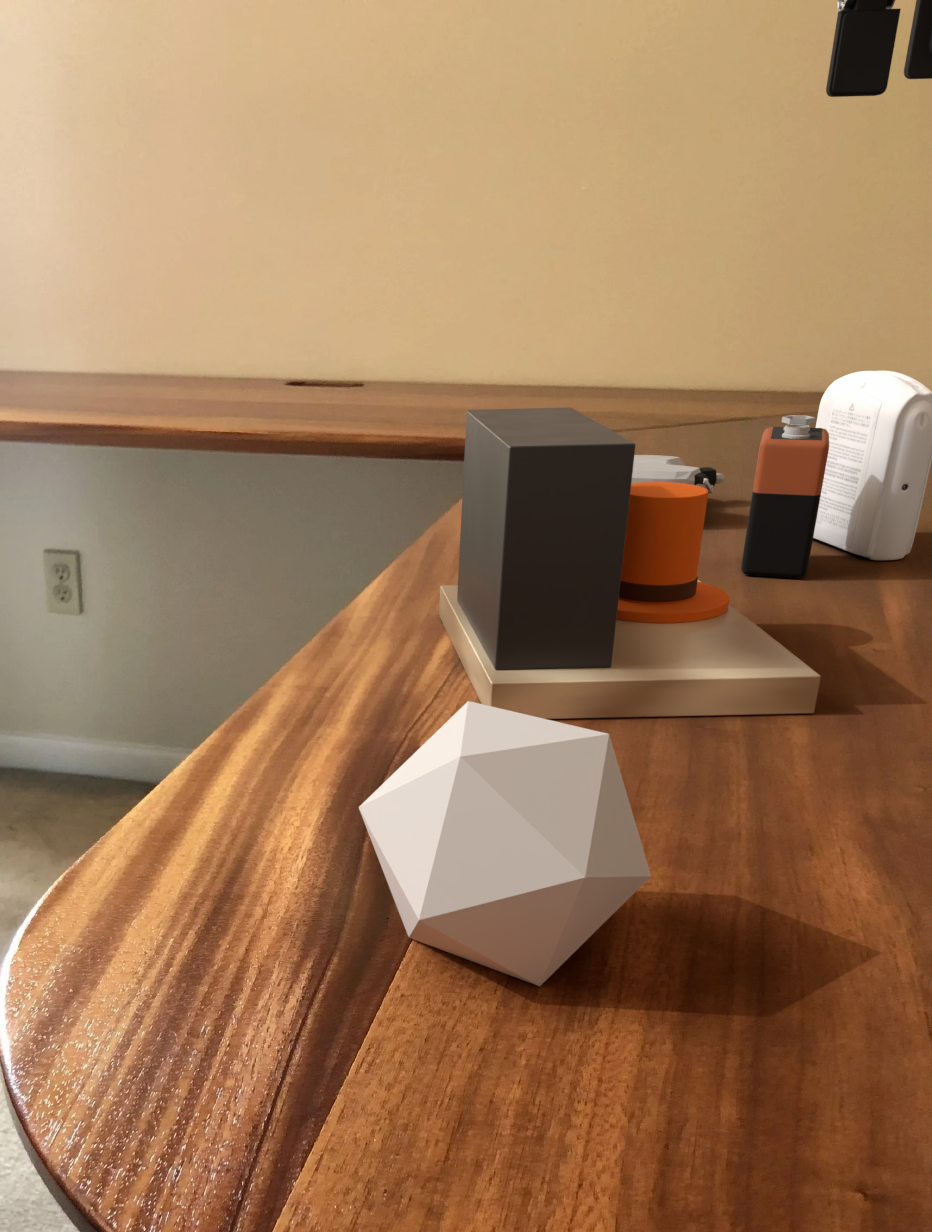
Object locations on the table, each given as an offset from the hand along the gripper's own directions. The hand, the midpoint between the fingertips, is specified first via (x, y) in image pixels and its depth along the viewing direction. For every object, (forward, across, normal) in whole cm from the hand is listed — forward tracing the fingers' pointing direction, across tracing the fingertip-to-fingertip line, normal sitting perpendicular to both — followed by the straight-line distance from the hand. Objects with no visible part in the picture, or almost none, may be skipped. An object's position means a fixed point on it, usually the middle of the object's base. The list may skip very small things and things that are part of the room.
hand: (893, 86), depth 68 cm
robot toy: (+28, +34, +1) cm, 44 cm away
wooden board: (+28, -8, +14) cm, 33 cm away
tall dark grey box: (+26, -9, +19) cm, 34 cm away
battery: (+28, +13, -3) cm, 31 cm away
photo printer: (+28, +19, -11) cm, 36 cm away
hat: (+26, -4, +11) cm, 29 cm away
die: (+28, -41, +26) cm, 56 cm away
